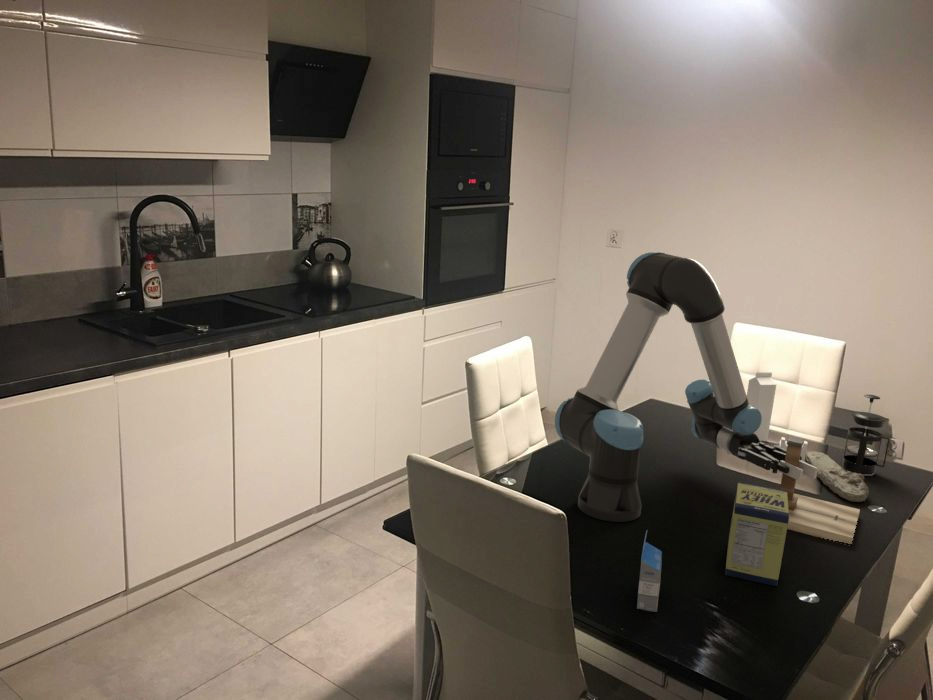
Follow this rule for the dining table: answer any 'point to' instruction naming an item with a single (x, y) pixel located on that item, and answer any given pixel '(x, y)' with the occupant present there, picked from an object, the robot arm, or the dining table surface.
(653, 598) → the label tape box
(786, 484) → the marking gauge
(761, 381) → the milk
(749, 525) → the protein box
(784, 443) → the bracket
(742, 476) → the dining table surface
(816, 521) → the pine board
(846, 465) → the french press
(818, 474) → the elongated rock
